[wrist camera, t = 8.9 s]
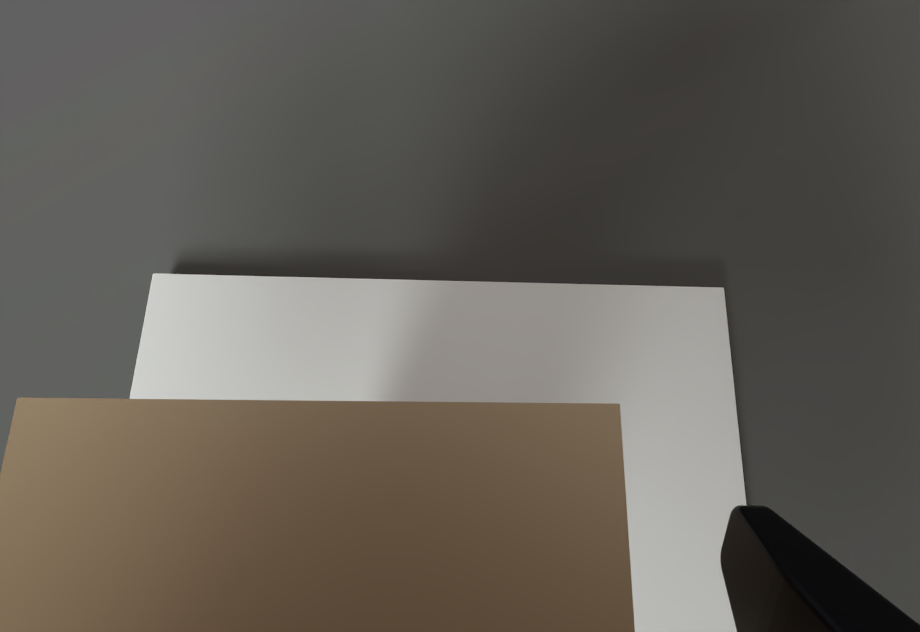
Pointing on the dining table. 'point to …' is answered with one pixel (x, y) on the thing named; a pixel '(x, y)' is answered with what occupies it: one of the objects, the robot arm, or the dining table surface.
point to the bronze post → (313, 517)
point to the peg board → (494, 384)
